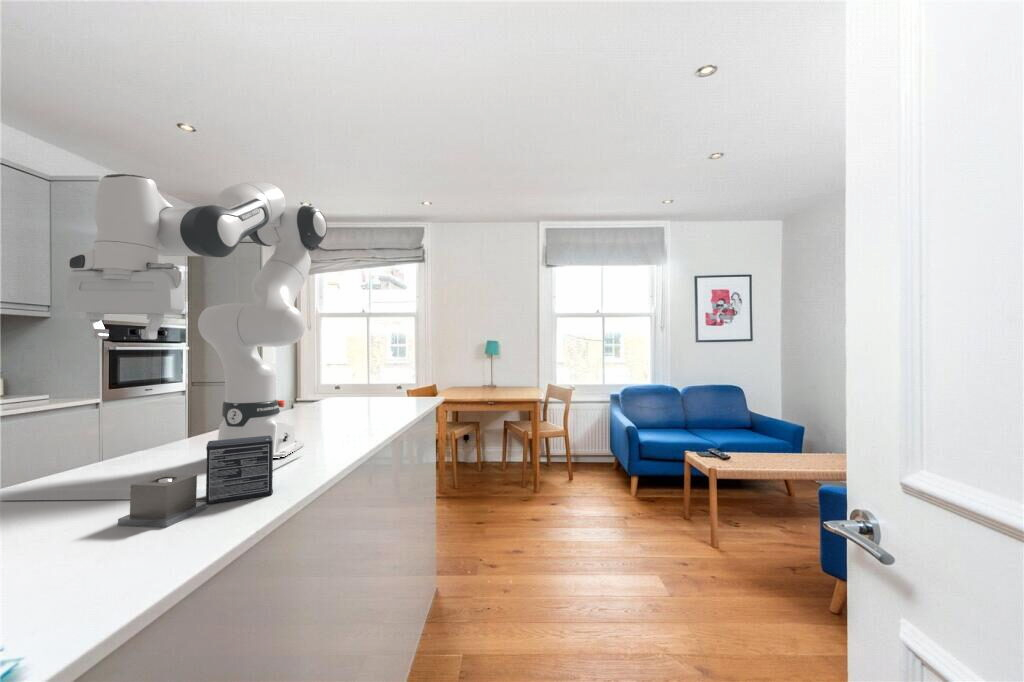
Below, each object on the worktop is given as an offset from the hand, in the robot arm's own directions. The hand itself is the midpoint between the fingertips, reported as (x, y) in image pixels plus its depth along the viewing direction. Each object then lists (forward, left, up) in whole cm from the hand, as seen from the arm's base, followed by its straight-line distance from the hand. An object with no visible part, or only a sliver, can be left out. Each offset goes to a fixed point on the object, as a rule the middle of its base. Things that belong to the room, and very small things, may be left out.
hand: (124, 339), depth 78 cm
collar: (+6, +14, -28) cm, 32 cm away
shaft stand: (+6, +14, -29) cm, 33 cm away
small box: (-5, +19, -29) cm, 35 cm away
